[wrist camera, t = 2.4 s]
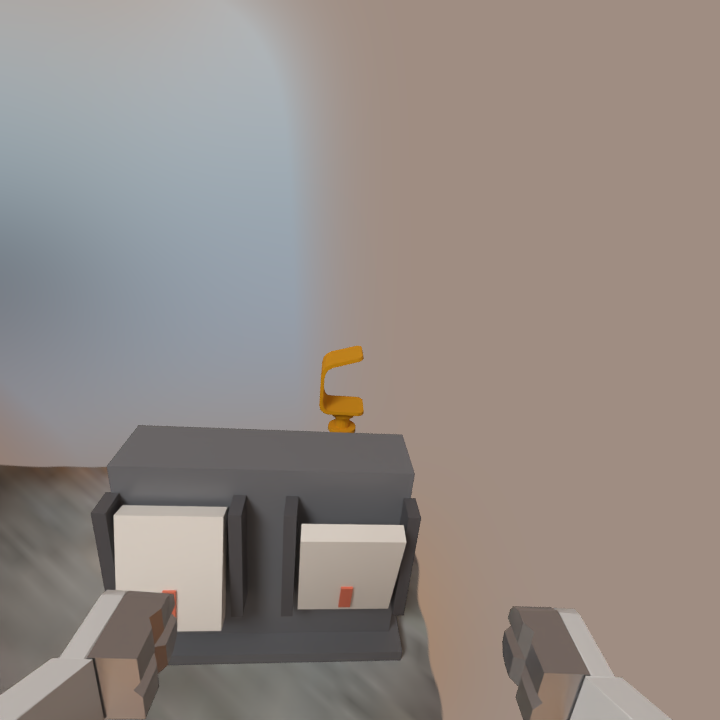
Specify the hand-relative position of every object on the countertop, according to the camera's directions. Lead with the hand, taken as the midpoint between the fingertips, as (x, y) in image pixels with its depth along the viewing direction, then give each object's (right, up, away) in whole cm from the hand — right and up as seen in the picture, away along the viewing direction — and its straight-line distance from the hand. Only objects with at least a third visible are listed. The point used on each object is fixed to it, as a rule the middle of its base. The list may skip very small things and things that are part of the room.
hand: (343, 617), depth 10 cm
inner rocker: (-15, -15, +24) cm, 32 cm away
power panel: (-9, -20, +34) cm, 40 cm away
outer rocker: (-1, -15, +28) cm, 32 cm away
